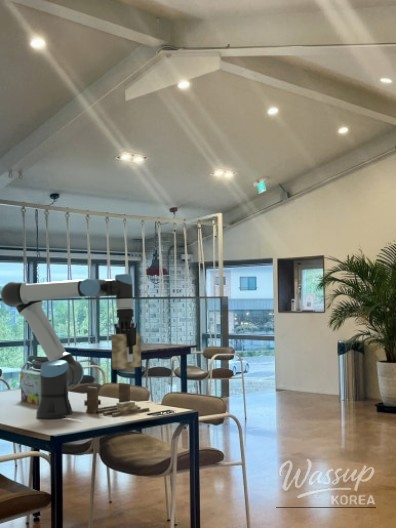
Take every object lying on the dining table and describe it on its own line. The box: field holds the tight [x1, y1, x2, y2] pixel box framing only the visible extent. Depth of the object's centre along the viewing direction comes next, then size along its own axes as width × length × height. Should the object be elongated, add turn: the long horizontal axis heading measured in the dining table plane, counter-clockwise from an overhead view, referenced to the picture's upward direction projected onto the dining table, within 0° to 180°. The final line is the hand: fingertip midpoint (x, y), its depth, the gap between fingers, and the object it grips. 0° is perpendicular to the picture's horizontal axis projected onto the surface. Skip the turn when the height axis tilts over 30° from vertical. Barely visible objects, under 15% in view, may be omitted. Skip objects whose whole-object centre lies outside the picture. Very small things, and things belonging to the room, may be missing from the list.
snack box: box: [20, 369, 41, 406], centre depth 327 cm, size 21×6×15 cm, turn 37°
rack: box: [84, 382, 151, 418], centre depth 286 cm, size 22×19×12 cm
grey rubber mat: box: [146, 409, 175, 416], centre depth 288 cm, size 14×11×1 cm
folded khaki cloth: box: [110, 332, 142, 370], centre depth 291 cm, size 14×3×15 cm, turn 136°
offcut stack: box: [115, 400, 139, 413], centre depth 282 cm, size 9×4×4 cm, turn 137°
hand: (127, 361), depth 291 cm, fingers closed on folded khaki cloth, 3 cm apart
